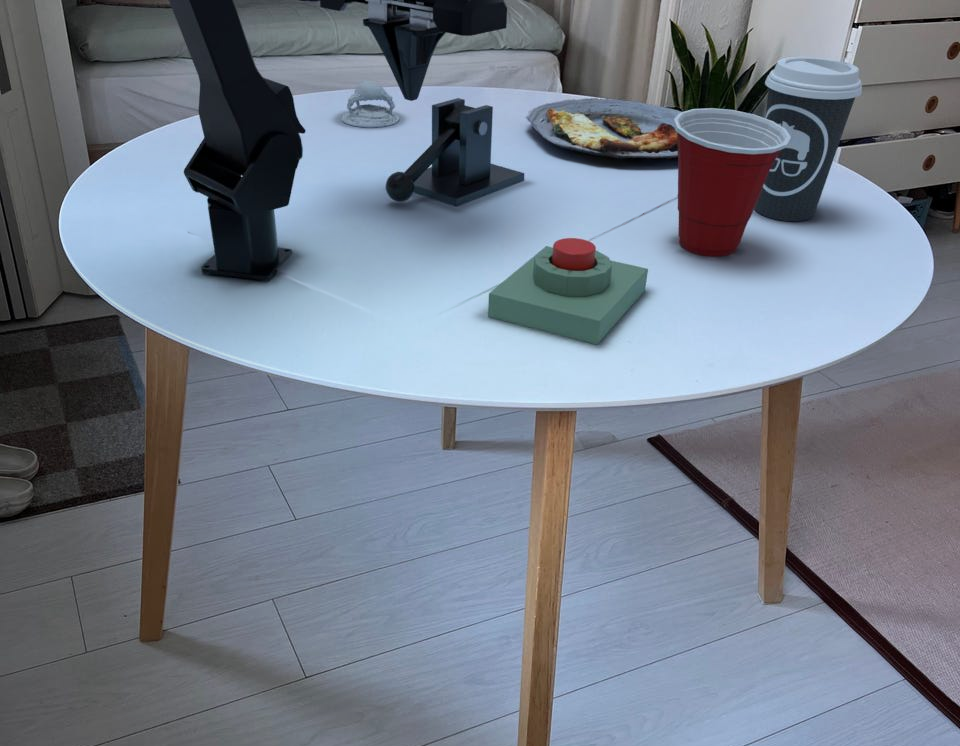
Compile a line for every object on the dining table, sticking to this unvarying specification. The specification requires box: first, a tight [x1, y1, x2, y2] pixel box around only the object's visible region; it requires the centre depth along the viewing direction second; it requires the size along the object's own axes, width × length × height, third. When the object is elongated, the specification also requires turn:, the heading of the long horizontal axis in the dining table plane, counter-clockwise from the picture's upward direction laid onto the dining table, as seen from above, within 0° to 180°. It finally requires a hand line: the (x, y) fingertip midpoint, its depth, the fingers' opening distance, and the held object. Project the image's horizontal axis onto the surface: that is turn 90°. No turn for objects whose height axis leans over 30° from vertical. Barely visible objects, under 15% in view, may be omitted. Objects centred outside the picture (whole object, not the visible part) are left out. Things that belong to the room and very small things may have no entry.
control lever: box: [385, 104, 475, 203], centre depth 98 cm, size 14×3×3 cm, turn 141°
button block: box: [487, 245, 649, 346], centre depth 79 cm, size 12×10×4 cm
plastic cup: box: [674, 107, 791, 258], centre depth 88 cm, size 11×11×12 cm
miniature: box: [341, 80, 400, 128], centre depth 124 cm, size 8×8×5 cm
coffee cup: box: [754, 56, 863, 222], centre depth 97 cm, size 10×10×15 cm
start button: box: [552, 237, 597, 271], centre depth 78 cm, size 4×4×2 cm
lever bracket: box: [413, 97, 525, 207], centre depth 101 cm, size 12×9×9 cm
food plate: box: [525, 97, 682, 160], centre depth 119 cm, size 25×23×4 cm
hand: (411, 99), depth 89 cm, fingers closed
